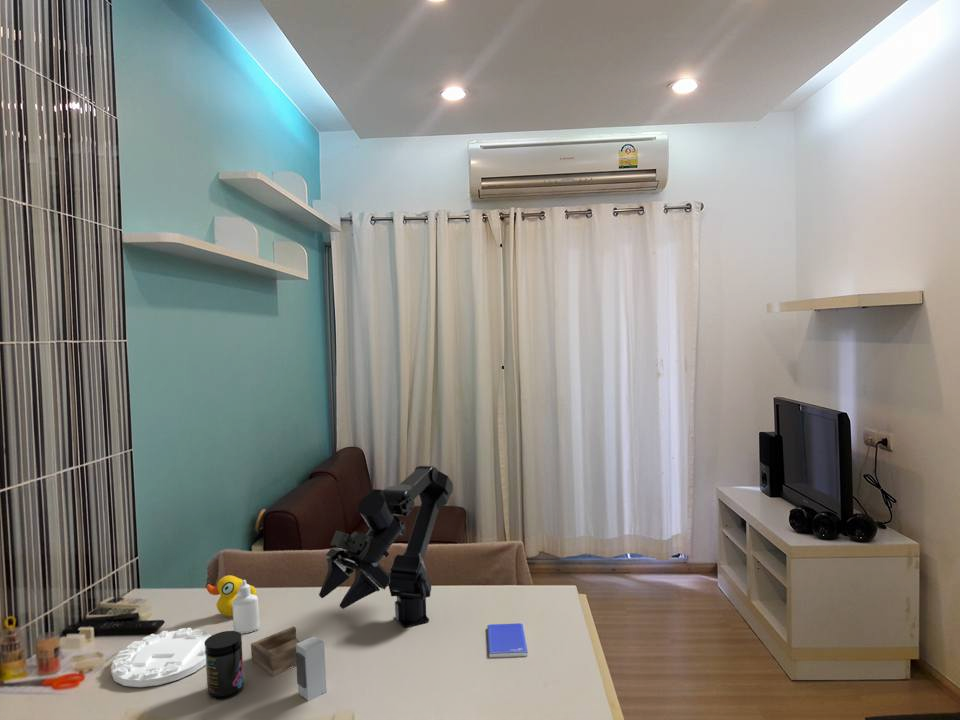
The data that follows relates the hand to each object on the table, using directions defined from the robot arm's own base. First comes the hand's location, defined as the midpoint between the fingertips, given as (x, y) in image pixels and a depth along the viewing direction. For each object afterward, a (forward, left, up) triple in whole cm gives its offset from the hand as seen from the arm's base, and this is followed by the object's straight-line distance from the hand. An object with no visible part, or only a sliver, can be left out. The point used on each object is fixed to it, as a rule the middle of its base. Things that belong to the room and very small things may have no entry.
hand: (330, 602), depth 128 cm
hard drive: (-37, +7, -15) cm, 40 cm away
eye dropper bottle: (+14, -27, -15) cm, 34 cm away
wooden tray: (+8, -10, -14) cm, 20 cm away
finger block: (+5, +6, -15) cm, 17 cm away
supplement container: (+20, -3, -15) cm, 25 cm away
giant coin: (+31, -21, -15) cm, 41 cm away
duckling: (+16, -37, -15) cm, 43 cm away
